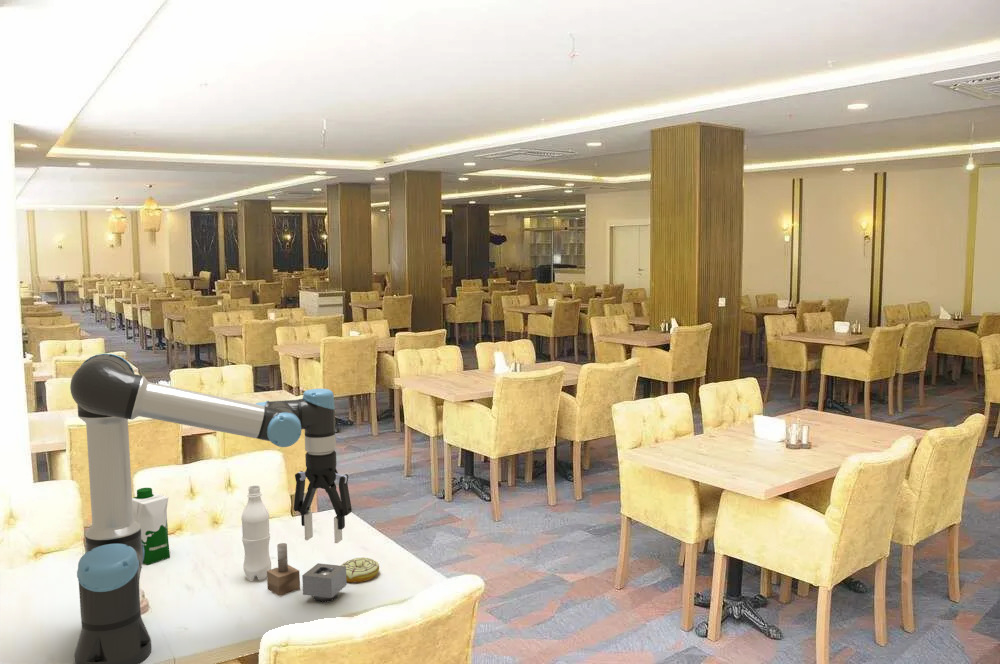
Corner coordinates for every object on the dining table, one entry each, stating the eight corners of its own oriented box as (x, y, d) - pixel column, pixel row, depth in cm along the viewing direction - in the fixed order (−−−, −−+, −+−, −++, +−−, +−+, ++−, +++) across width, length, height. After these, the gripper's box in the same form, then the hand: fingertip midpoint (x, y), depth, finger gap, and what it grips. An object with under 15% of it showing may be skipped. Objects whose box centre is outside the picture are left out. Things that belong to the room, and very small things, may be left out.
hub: (321, 604, 201) (320, 579, 200) (308, 597, 205) (308, 572, 205) (342, 597, 205) (341, 572, 205) (329, 590, 209) (328, 566, 209)
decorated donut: (332, 575, 219) (331, 562, 219) (366, 565, 226) (366, 552, 226) (350, 587, 211) (349, 574, 211) (385, 577, 218) (385, 563, 218)
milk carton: (158, 550, 238) (154, 484, 236) (175, 557, 233) (171, 489, 231) (129, 559, 231) (125, 491, 229) (146, 567, 226) (142, 497, 224)
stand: (279, 596, 206) (277, 550, 205) (267, 589, 210) (265, 544, 209) (300, 589, 210) (298, 544, 209) (288, 582, 215) (286, 538, 213)
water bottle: (263, 583, 214) (259, 491, 211) (238, 581, 215) (234, 490, 213) (276, 572, 221) (272, 483, 218) (252, 571, 222) (248, 482, 220)
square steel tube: (346, 585, 208) (346, 566, 207) (331, 598, 200) (331, 578, 200) (318, 581, 210) (317, 563, 209) (303, 594, 202) (302, 575, 202)
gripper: (364, 449, 202) (367, 538, 205) (291, 445, 208) (295, 531, 210) (351, 457, 195) (354, 548, 197) (276, 452, 200) (279, 541, 203)
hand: (323, 539), depth 204 cm, fingers open, 8 cm apart
